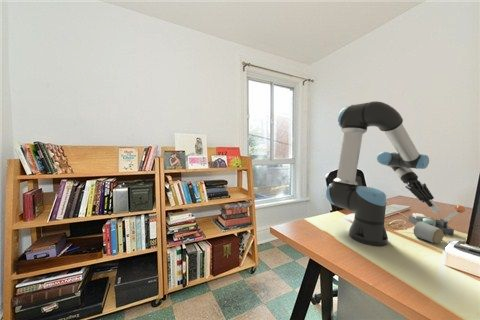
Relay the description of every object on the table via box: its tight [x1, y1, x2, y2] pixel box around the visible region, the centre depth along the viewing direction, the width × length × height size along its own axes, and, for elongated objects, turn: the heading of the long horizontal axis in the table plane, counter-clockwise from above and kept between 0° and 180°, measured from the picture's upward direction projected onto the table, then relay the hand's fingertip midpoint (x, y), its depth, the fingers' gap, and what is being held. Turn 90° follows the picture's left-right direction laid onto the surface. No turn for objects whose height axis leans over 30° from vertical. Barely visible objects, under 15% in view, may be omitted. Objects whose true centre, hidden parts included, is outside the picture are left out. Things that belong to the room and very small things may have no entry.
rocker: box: [412, 212, 427, 219], centre depth 110 cm, size 4×3×1 cm
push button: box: [423, 218, 434, 225], centre depth 102 cm, size 4×4×2 cm
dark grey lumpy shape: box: [408, 215, 455, 236], centre depth 105 cm, size 11×16×6 cm
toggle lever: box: [442, 205, 466, 224], centre depth 97 cm, size 3×3×14 cm
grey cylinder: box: [413, 221, 444, 245], centre depth 91 cm, size 11×8×8 cm
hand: (437, 211), depth 102 cm, fingers closed
